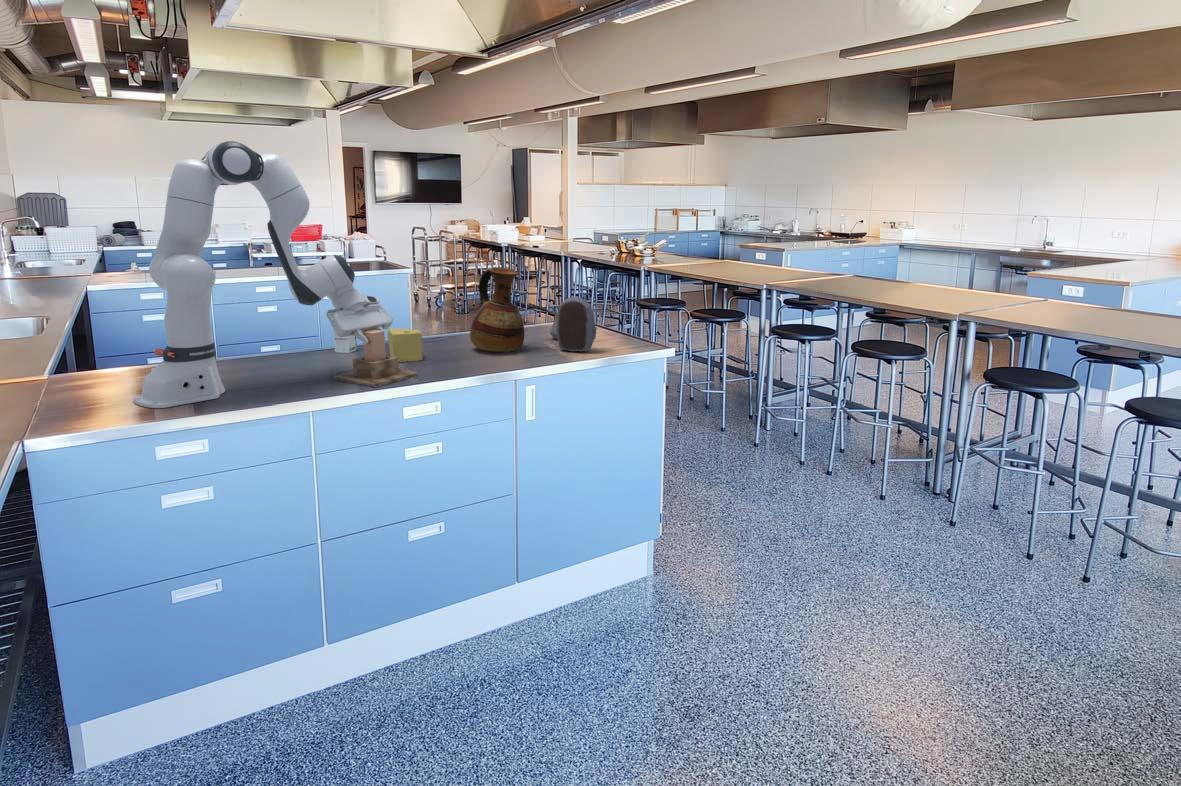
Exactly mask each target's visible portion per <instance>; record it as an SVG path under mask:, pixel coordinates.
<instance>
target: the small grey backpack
mask: <svg viewBox="0 0 1181 786" xmlns="http://www.w3.org/2000/svg"><path fill="white" fill-rule="evenodd" d="M558 306H559V310H558V309H557V312H556V313H557V326H556V337H557V340H556V341H557V343H558V347H559V349H560V350H564V351H566V350H567V352H573V351H580V353H582V351H583V352H588V351H591V348H592V346H593V343H594V341H595V339H596V338H597V327H596V320H595V318H596V317H595V314H594V311H593V309H592V307H593V306H592V305H591V304H590V303H589V302H588V301H587V300H585V299H584V298H582V297H577V296H573V297H568V298H566V299H565V300H563V302H561V303H560V305H558Z"/></svg>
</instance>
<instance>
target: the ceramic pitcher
mask: <svg viewBox="0 0 1181 786" xmlns="http://www.w3.org/2000/svg"><path fill="white" fill-rule="evenodd" d="M518 275H519V273H518V271H517V270H514V269H511V268H507V267H506V268H505V267H491V268H488V269H486V270H485V271H484V272H483V273H482V274H481V277H480V279H479V284H478V294H479V297H480V303H481V306H480V308H479V309H478V310H477V312H476V313H475V315H474V317H473V320H472V322H471V324H470V325H471V326H470V331H469V332H470V333H469V336H470V337H469V338H470V341H471V343H472V345H473V346H474V347H476V348H477V349H479V350H480V351H481V350H482V351H484V352H485V351H486V352H494V353H496V352H497V353H508V352H511V351H512V352H513V351H517V350H519V349H521V348H522V346H523V344H524V342H525V324H524V321H523V317H522V314H521V313H520V311H519V309H518V307H516V306H515V304H513V302H512V300H511V298H512V297H511V291H512V284H513V282H514V280H515V278H516V277H517V276H518ZM491 277H493V281H494V289H493V293H492V296H491V299H490V297H489V293H488V291H489V290H488V286H489V285H488V284H489V282H490V279H491Z"/></svg>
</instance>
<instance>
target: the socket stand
mask: <svg viewBox="0 0 1181 786" xmlns="http://www.w3.org/2000/svg"><path fill="white" fill-rule="evenodd" d="M352 369H353V371H348V372H343V373H341V374H340V373H339V374H336V375H333V376H332V379H333V380H336V381H341V382H346V383H351V384H354V383H356V384H355V385H359V384H362V385H361V386H363V385H367V386H366V387H368V386H373V387H375V386H379V385H383V386H385V385H384V384H387V385H390V384H394V383H398V382H401V381H404V379H405V380H408V379H407V378H409V379H412V378H411V377H413V378H416V377H419V376H418V375H419V372H416V371H412V370H406V369H402V368H399V362H398V358H396V357H391V355H386V359H384V360H380V361H376V362H373V361H368V360H365V359H364V356H362V357H357V358H352ZM415 376H416V377H415ZM397 381H398V382H397ZM393 382H394V383H393ZM389 383H390V384H389ZM373 387H372V388H373ZM379 387H380V386H379ZM375 388H376V387H375Z"/></svg>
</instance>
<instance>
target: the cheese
mask: <svg viewBox="0 0 1181 786" xmlns="http://www.w3.org/2000/svg"><path fill="white" fill-rule="evenodd" d="M422 338H423V337H422V332H421V331H420V330H419V329H410V328H398V327H397V328H388V329H387V343H388V349H389V354H390V355H389V356H391V357H396V358H398V363H404V362H407V361H408V362H419V360H422V361H423V339H422Z"/></svg>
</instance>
